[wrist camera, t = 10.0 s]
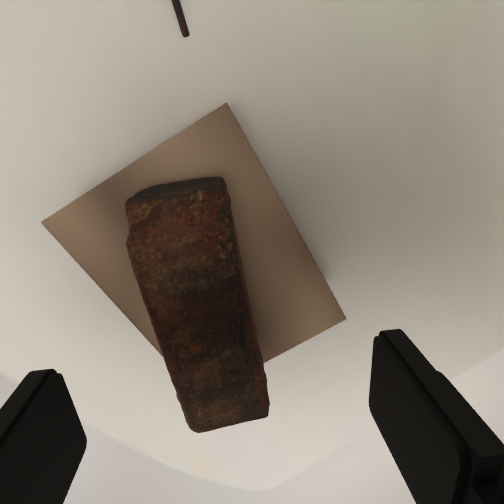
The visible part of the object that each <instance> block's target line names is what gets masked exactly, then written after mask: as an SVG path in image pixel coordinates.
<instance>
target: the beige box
mask: <svg viewBox="0 0 504 504" xmlns="http://www.w3.org/2000/svg"><path fill="white" fill-rule="evenodd" d="M204 177H222V178H223V179H224V180H225V183H226V184H227V187H226V188H227V191H228V194H229V196H230V199H231V210H232V215H233V219H234V225H235V229H236V234H237V239H238V245H239V251H240V255H241V260H242V265H243V270H244V275H245V280H246V285H247V290H248V295H249V300H250V306H251V310H252V314H253V319H254V324H255V329H256V334H257V339H258V344H259V348H260V352H261V354H262V357H263V363H265V362H267V361H268V360H270V359H272V358H274V357H276V356H278V355H280V354H282V353H283V352H285V351H287V350H289V349H291V348H293V347H295V346H297V345H298V344H300V343H302V342H304V341H306V340H308V339H310V338H312V337H313V336H315V335H317V334H319V333H321V332H323V331H325V330H327V329H328V328H330V327H332V326H334V325H336V324H338V323H340V322H342V321H343V320H345V319H347V318H346V317H345V315H344V313H343V311H342V309H341V308H340V306H339V304H338V302H337V300H336V299H335V297H334V295H333V293H332V291H331V290H330V288H329V286H328V284H327V282H326V281H325V279H324V277H323V275H322V273H321V272H320V270H319V268H318V266H317V264H316V262H315V261H314V259H313V257H312V255H311V253H310V252H309V250H308V248H307V246H306V244H305V243H304V241H303V239H302V237H301V235H300V234H299V232H298V230H297V228H296V226H295V225H294V223H293V221H292V219H291V217H290V216H289V214H288V212H287V210H286V208H285V207H284V205H283V203H282V201H281V199H280V198H279V196H278V194H277V192H276V190H275V188H274V187H273V185H272V183H271V181H270V179H269V178H268V176H267V174H266V172H265V170H264V169H263V167H262V165H261V163H260V161H259V160H258V158H257V156H256V154H255V152H254V151H253V149H252V147H251V145H250V143H249V142H248V140H247V138H246V136H245V134H244V133H243V131H242V129H241V127H240V125H239V124H238V122H237V120H236V118H235V116H234V115H233V113H232V111H231V109H230V107H229V105H228V104H227V103H225V104H224V105H222V106H221V107H219V108H218V109H216V110H214V111H213V112H211V113H210V114H208V115H207V116H205V117H204V118H202V119H200V120H199V121H197V122H196V123H194V124H193V125H191V126H190V127H188V128H186V129H185V130H183V131H182V132H180V133H179V134H177V135H176V136H174V137H172V138H171V139H169V140H168V141H166V142H165V143H163V144H162V145H160V146H158V147H157V148H155V149H154V150H152V151H151V152H149V153H148V154H146V155H144V156H143V157H141V158H140V159H138V160H137V161H135V162H134V163H132V164H130V165H129V166H127V167H126V168H124V169H123V170H121V171H120V172H118V173H116V174H115V175H113V176H112V177H110V178H109V179H107V180H106V181H104V182H102V183H101V184H99V185H98V186H96V187H95V188H93V189H92V190H90V191H88V192H87V193H85V194H84V195H82V196H81V197H79V198H78V199H76V200H74V201H73V202H71V203H70V204H68V205H67V206H65V207H64V208H62V209H60V210H59V211H57V212H56V213H54V214H53V215H51V216H50V217H48V218H47V219H45V220H43V221H42V222H41V223H42V224H43V225H44V227H45V228H46V229H47V230H48V231H49V232H50V233H51V234H52V235H53V236H54V238H55V239H56V240H57V241H58V242H59V243H60V244H61V245H62V246H63V247H64V249H65V250H66V251H67V252H68V253H69V254H70V255H71V256H72V257H73V258H74V260H75V261H76V262H77V263H78V264H79V265H80V266H81V267H82V268H83V269H84V271H85V272H86V273H87V274H88V275H89V276H90V277H91V278H92V279H93V280H94V282H95V283H96V284H97V285H98V286H99V287H100V288H101V289H102V290H103V291H104V293H105V294H106V295H107V296H108V297H109V298H110V299H111V300H112V301H113V302H114V303H115V305H116V306H117V307H118V308H119V309H120V310H121V311H122V312H123V313H124V314H125V316H126V317H127V318H128V319H129V320H130V321H131V322H132V323H133V324H134V325H135V327H136V328H137V329H138V330H139V331H140V332H141V333H142V334H143V335H144V336H145V338H146V339H147V340H148V341H149V342H150V343H151V344H152V345H153V346H154V347H155V349H156V350H157V351H158V352H159V353H160V354H161V355H162V352H161V349H160V346H159V344H158V341H157V338H156V335H155V332H154V329H153V327H152V324H151V321H150V318H149V315H148V312H147V310H146V307H145V304H144V302H143V299H142V296H141V292H140V288H139V285H138V282H137V280H136V278H135V275H134V272H133V268H132V265H131V262H130V259H129V256H128V251H127V247H126V241H127V237H128V235H129V223H128V218H127V217H126V212H125V202H126V201H127V199H128V198H130V197H132V196H134V195H135V193H137V192H138V191H141V190H143V189H146V188H149V187H151V186H155V185H159V184H168V183H172V182H178V181H184V180H190V179H197V178H204ZM162 356H163V355H162Z"/></svg>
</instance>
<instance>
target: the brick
mask: <svg viewBox="0 0 504 504" xmlns="http://www.w3.org/2000/svg"><path fill="white" fill-rule="evenodd" d="M226 187H227V184H226V183H225V180H224V179H223V178H222V177H204V178H197V179H190V180H184V181H178V182H172V183H168V184H159V185H155V186H151V187H149V188H146V189H143V190H141V191H138V192H137V193H135V195H134V196H132V197H130V198H128V199H127V201H126V202H125V212H126V217H127V218H128V223H129V235H128V237H127V241H126V247H127V251H128V256H129V259H130V262H131V265H132V268H133V272H134V275H135V278H136V280H137V282H138V285H139V288H140V292H141V296H142V299H143V302H144V304H145V307H146V310H147V312H148V315H149V318H150V321H151V324H152V327H153V329H154V332H155V335H156V338H157V341H158V344H159V346H160V349H161V352H162V355H163V357H164V360H165V363H166V367H167V369H168V372H169V374H170V376H171V380H172V383H173V385H174V387H175V390H176V393H177V395H176V396H177V399H178V401H179V402H180V404H181V407H182V410H183V413H184V416H185V419H186V422H187V424H188V426H189V428H190V429H191V430H192V431H194V432H197V433H201V432H207V431H211V430H215V429H219V428H222V427H227V426H231V425H235V424H239V423H243V422H247V421H252V420H257V419H262V418H265V417H267V416H268V412H269V405H270V402H269V397H268V391H267V379H266V374H265V372H264V365H263V357H262V354H261V352H260V348H259V344H258V339H257V334H256V329H255V324H254V319H253V314H252V310H251V306H250V300H249V295H248V290H247V285H246V280H245V275H244V270H243V265H242V260H241V255H240V251H239V245H238V239H237V234H236V229H235V225H234V219H233V215H232V210H231V199H230V196H229V194H228V191H227V188H226Z"/></svg>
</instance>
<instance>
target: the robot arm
mask: <svg viewBox="0 0 504 504" xmlns="http://www.w3.org/2000/svg"><path fill="white" fill-rule="evenodd" d="M369 407H370V411H371V414H372V416H373V418H374V420H375V422H376V424H377V426H378V428H379V430H380V432H381V434H382V436H383V438H384V440H385V442H386V444H387V446H388V448H389V450H390V452H391V454H392V456H393V458H394V460H395V462H396V464H397V466H398V468H399V470H400V472H401V474H402V476H403V478H404V480H405V482H406V484H407V486H408V488H409V490H410V492H411V494H412V496H413V498H414V500H415V502H416V504H504V444H503V443H502V442H501V440H500V439H499V438H498V437H497V436H496V435H495V434H494V432H493V431H492V430H491V429H490V428H489V427H488V425H487V424H486V423H485V422H484V421H483V420H482V419H481V417H480V416H479V415H478V414H477V413H476V411H475V410H474V409H473V408H472V407H471V406H470V405H469V403H468V402H467V401H466V400H465V399H464V398H463V396H462V395H461V394H460V393H459V392H458V391H457V389H456V388H455V387H454V386H453V385H452V384H451V382H450V381H449V380H448V379H447V378H446V377H445V376H444V375H443V374H442V373H441V372H439V371H436V370H435V369H434V367H433V366H432V365H431V364H430V363H429V361H428V360H427V359H426V358H425V357H424V355H423V354H422V353H421V352H420V351H419V350H418V348H417V347H416V346H415V345H414V344H413V342H412V341H411V340H410V339H409V338H408V337H407V335H406V334H405V333H404V332H403V331H402V330H401V329H393V330H384V331H380V333H379V336H376V337H375V338H374V343H373V355H372V368H371V380H370V392H369ZM86 444H87V438H86V435H85V432H84V430H83V427H82V425H81V422H80V420H79V417H78V414H77V412H76V409H75V407H74V404H73V401H72V399H71V396H70V394H69V391H68V389H67V386H66V383H65V381H64V378H63V376H62V374H60V373H57V372H56V371H55V370H54V369H46V370H37V371H31V372H29V373H28V374H27V375H26V377H25V378H24V379H23V380H22V382H21V383H20V384H19V386H18V387H17V388H16V390H15V391H14V392H13V394H12V395H11V396H10V397H9V399H8V400H7V401H6V402H5V404H4V405H3V406H2V408H1V409H0V504H63V502H64V500H65V497H66V495H67V493H68V490H69V488H70V485H71V483H72V481H73V478H74V476H75V474H76V471H77V469H78V467H79V464H80V462H81V459H82V457H83V455H84V452H85V449H86Z"/></svg>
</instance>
